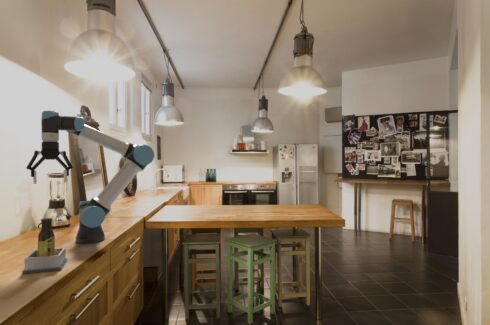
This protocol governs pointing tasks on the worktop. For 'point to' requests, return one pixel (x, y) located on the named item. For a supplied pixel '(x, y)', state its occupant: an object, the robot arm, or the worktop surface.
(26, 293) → the worktop surface
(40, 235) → the sauce bottle
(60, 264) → the open gray square box
